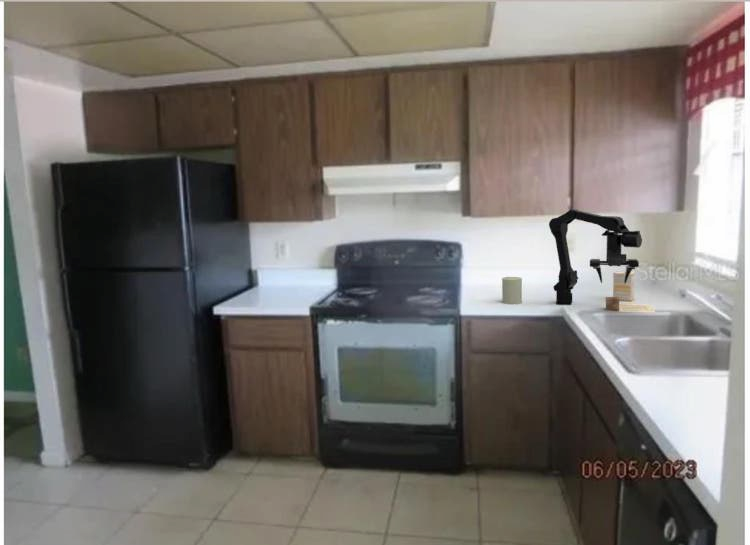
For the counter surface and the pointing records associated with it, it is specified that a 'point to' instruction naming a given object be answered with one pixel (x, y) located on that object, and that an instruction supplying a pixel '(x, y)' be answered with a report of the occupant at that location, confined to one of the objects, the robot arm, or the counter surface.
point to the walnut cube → (612, 303)
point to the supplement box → (623, 286)
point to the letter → (635, 308)
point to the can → (511, 290)
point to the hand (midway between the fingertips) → (613, 283)
